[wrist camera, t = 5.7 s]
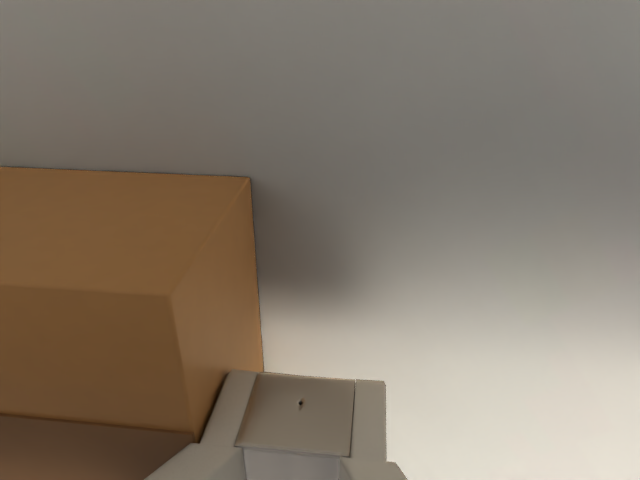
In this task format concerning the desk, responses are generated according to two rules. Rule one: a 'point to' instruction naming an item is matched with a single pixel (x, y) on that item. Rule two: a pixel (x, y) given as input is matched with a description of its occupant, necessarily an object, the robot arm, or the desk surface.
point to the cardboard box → (119, 316)
